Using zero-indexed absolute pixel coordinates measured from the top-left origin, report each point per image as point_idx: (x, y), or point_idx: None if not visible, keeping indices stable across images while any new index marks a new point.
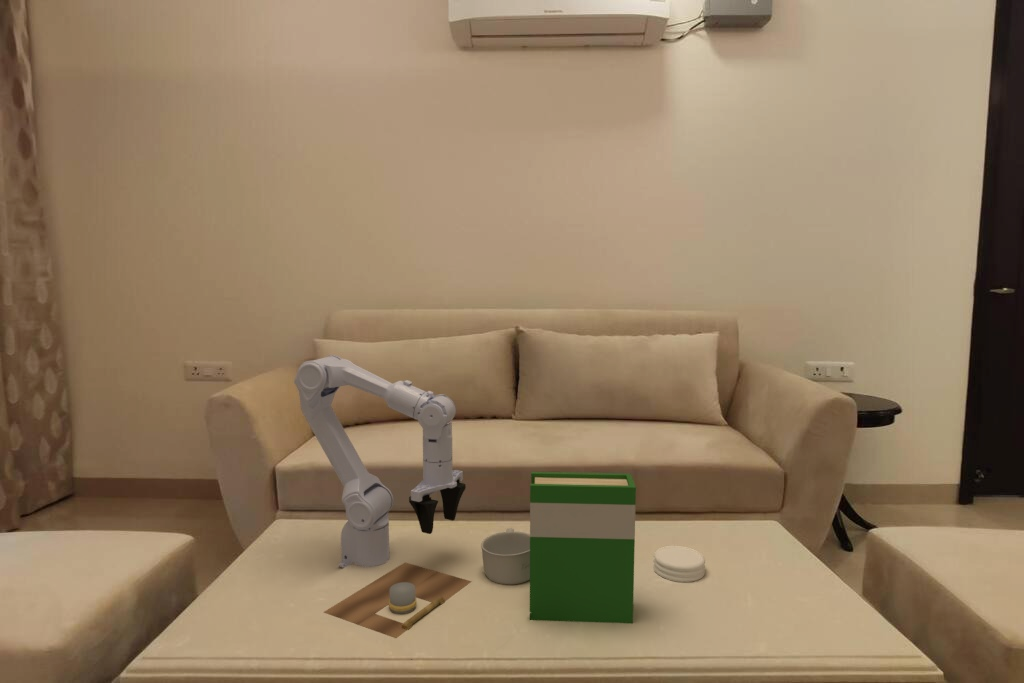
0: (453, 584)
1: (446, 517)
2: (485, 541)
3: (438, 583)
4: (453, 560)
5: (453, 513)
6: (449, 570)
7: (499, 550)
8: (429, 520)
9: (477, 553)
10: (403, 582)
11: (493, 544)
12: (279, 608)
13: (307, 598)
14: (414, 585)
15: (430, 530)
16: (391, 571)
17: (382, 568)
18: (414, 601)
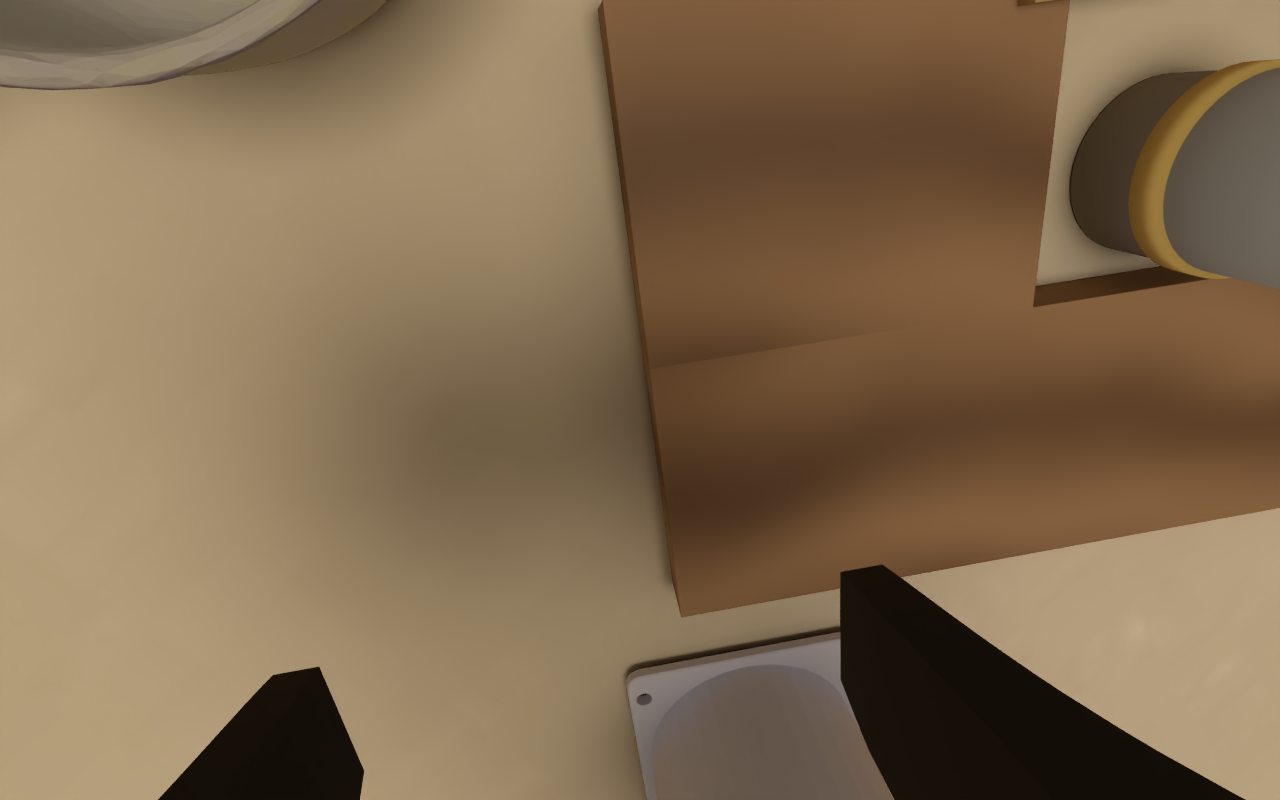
0: (741, 104)
1: (347, 772)
2: (173, 38)
3: (796, 219)
4: (351, 462)
5: (266, 763)
6: (486, 375)
7: (5, 9)
8: (1078, 714)
9: (111, 411)
10: (1259, 259)
11: (38, 38)
12: (1266, 677)
13: (1155, 670)
14: (906, 340)
15: (912, 590)
16: (824, 584)
17: None
18: (1254, 74)
